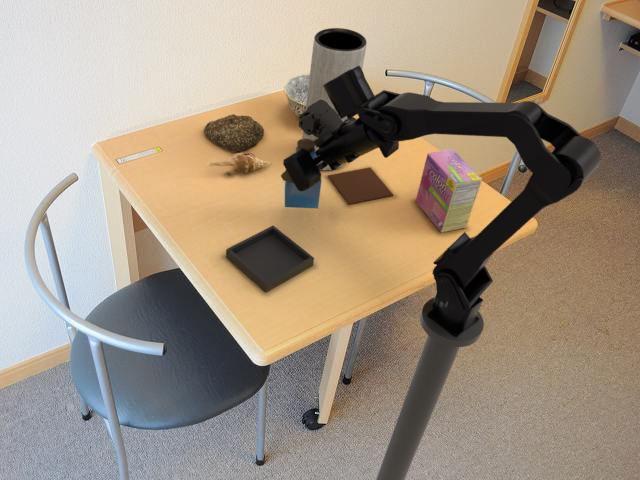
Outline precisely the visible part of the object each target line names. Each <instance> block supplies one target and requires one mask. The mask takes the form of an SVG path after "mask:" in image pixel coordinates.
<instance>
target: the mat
mask: <svg viewBox="0 0 640 480" xmlns="http://www.w3.org/2000/svg"><path fill="white" fill-rule="evenodd" d="M327 178H328V179H329V181H330V182H331V183H332V184H333V186H334V187H335V188H336V190H337V191H338V193H340V195H341V196H342V198H343V199H344V200H345V202H346V203H347V204H348V205H349V206H350V205H355V204H362V203H365V202H371V201H376V200H381V199H386V198H389V197H393V196H394V194H393V192H392V191H391V190H390V189H389V188H388V186H387V185H386V184H385V183H384V182H383V180H382V179H381V178H380V176H379V175H377V173H376V172H375V171H374V169H372V167H365V168H360V169H359V168H358V169H353V170H349V171H348V170H347V171H344V172H339V173H333V174H328V175H327Z"/></svg>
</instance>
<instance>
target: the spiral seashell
mask: <svg viewBox="0 0 640 480" xmlns="http://www.w3.org/2000/svg"><path fill="white" fill-rule="evenodd" d="M272 164H273V163H272V162H268V161H267V160H262V159H261V158H257V157H256V155H255V153H252V152H251V151H247V152H238V153H235V154H233V155H232V156H231V158H230V159H228V160H223V161H222V160H221V161H213V162H209V163H208V164H207V167H216V166H217V167H234V168H236V169H237V171H239V172H240V173H241V174H243V175H246V174H248V172H249V171H250V172H254V171H255V170H259V169H260V168H263V167H267V166H270V165H272ZM226 175H227V176H228V177H229V176H230V175H231V173H230V172H229V171H227V172H226Z"/></svg>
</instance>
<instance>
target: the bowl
mask: <svg viewBox="0 0 640 480" xmlns="http://www.w3.org/2000/svg"><path fill="white" fill-rule="evenodd" d="M309 77H310V73H304V74H299V75H296V76H293V77H291V78H289V79H288V80H287V81H285V83H284V85H283V91H284V94H285V96H286V99H287V102H288V106H289V108H290V110H291V111H292V112H293V114H294V115H295V116H297V117H298V118H299V115H301V114H302V113H304V111H306V102H307V94H308V86H309Z"/></svg>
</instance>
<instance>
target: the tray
mask: <svg viewBox="0 0 640 480" xmlns="http://www.w3.org/2000/svg"><path fill="white" fill-rule="evenodd" d="M225 258H226V259H228V261H229V262H230V263H232V264H233V266H235V267H236V268H237V269H238V270H240V271H241V272H242V273H243V274H244V275H245V276H247V278H249V279H250V280H251V281H252V282H253V283H254V284H256V285H257V286H258V287H259V288H260V290H262V291H264V293H268V292H270V291H271V290H273V289H276V288H277V287H278V286H280V285H282V284H284V283H286V282H287V281H289V280H290V279H293V278H294V277H296V276H298V275H299V274H301V273H304V272H305V271H306V270H308V269H310V268H312V267H313V266H314V261H315V257H314V256H312V255H311V254H310V253H308V251H306V250H305V249H304V248H303V247H301V246H300V245H299V244H297V243H296V242H295V241H294V240H293V239H291V238H290V237H289V236H287V235H286V234H285V233H284V232H282V231H281V230H280V229H278V228H277V227H276V226H275V225H271V226H269V227H267V228H265V229H263V230H261V231H259V232H257V233H255V234H252V235H251V236H249V237H247V238H245V239H243V240H241V241H240V242H237V243H235V244H234V245H232V246H230V247H228V248H226V250H225Z"/></svg>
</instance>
